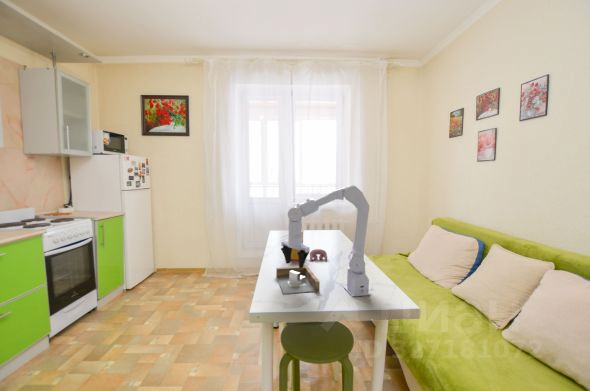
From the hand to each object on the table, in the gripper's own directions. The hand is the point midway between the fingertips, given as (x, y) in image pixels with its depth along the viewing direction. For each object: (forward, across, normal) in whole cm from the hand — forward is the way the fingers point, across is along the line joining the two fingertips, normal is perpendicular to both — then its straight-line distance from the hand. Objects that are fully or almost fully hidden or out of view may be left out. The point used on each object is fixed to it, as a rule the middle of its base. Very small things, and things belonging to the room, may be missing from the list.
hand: (294, 265), depth 112 cm
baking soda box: (+9, +22, -28) cm, 37 cm away
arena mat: (+9, 0, -1) cm, 9 cm away
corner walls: (+9, 0, -1) cm, 9 cm away
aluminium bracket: (+8, 0, -2) cm, 8 cm away
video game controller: (+9, +12, -34) cm, 37 cm away
